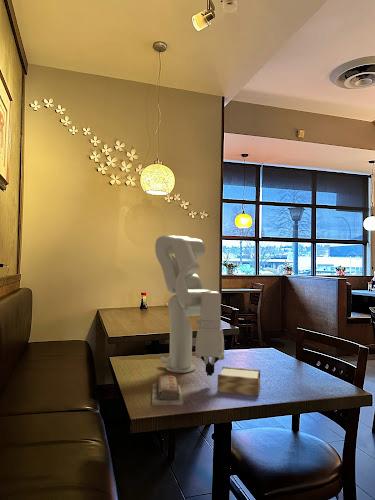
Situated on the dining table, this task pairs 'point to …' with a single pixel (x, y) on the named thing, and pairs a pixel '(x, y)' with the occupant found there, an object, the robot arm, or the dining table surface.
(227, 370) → the cover plate
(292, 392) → the dining table surface
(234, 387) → the box
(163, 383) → the packaged product
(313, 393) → the dining table surface
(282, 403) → the dining table surface
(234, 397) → the dining table surface
